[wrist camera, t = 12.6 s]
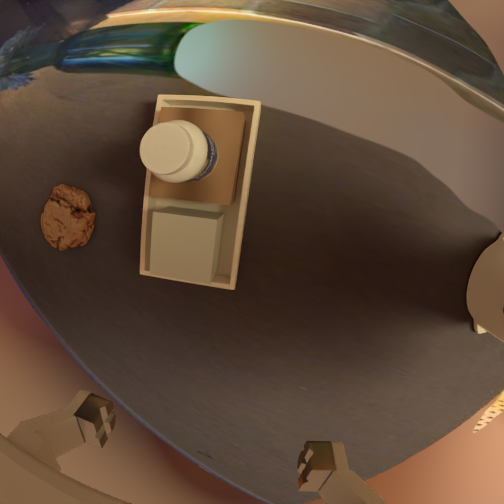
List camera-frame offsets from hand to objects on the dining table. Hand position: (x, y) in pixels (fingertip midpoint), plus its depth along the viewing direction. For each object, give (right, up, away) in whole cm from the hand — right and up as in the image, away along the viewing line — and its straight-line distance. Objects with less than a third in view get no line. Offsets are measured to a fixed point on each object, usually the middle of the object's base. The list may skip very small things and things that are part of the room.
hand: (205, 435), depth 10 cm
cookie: (-25, +12, +28) cm, 39 cm away
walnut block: (-4, +19, +24) cm, 31 cm away
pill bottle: (-4, +17, +19) cm, 26 cm away
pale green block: (-5, +9, +27) cm, 29 cm away
